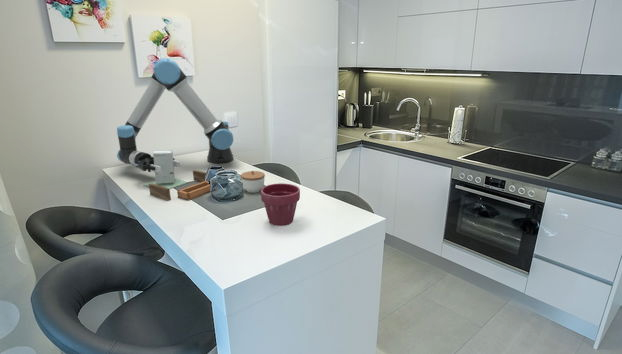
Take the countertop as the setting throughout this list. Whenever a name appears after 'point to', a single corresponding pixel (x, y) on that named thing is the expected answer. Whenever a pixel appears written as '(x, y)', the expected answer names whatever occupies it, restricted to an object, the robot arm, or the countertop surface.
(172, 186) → the pad
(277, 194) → the plant pot
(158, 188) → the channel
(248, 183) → the lidded jar
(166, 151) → the skincare box
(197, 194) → the brown rectangular tray
